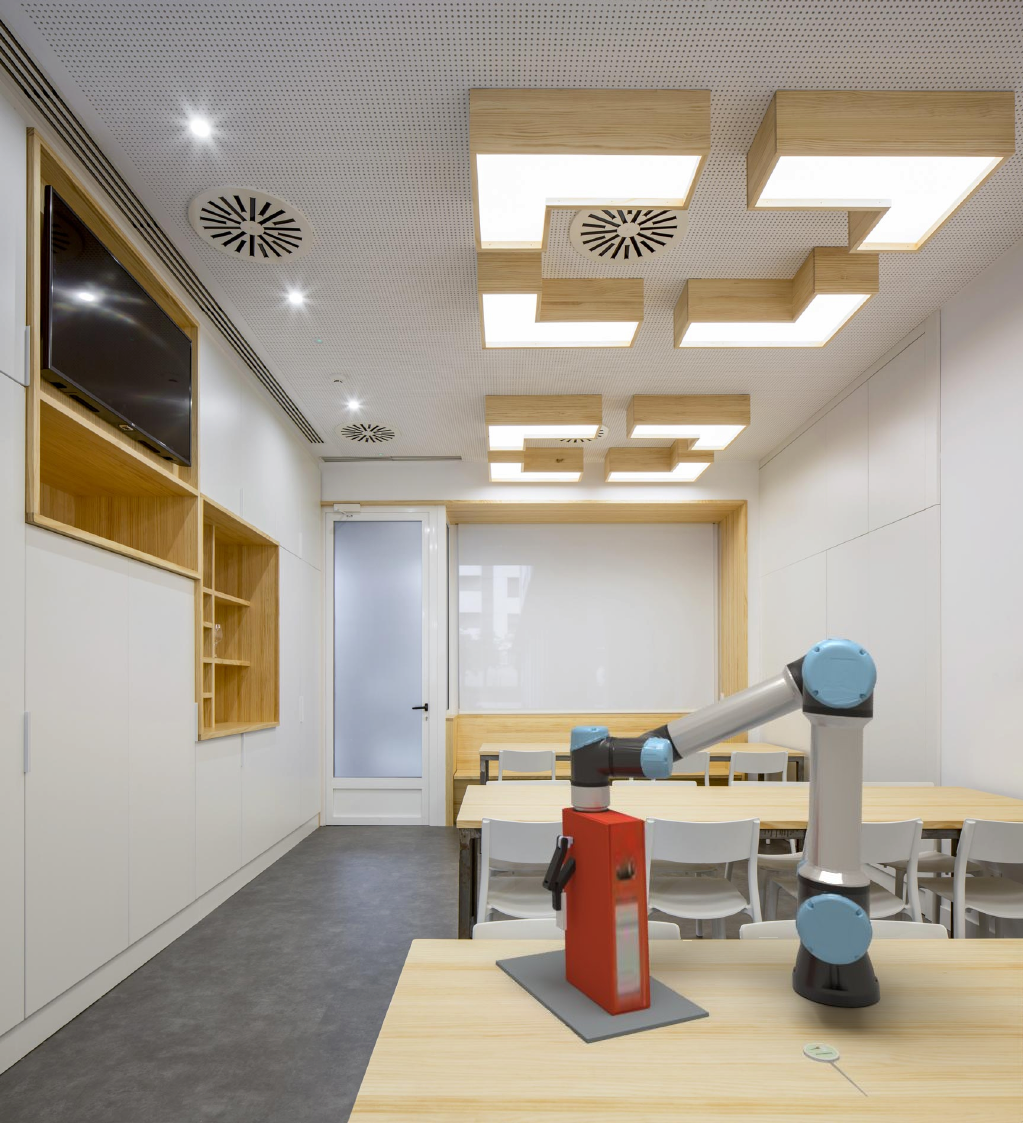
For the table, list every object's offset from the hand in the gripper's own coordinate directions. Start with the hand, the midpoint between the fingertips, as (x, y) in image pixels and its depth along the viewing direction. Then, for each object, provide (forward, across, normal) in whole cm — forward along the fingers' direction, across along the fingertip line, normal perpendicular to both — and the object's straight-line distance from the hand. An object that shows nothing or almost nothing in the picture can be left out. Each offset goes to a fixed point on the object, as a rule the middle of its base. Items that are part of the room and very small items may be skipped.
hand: (592, 923), depth 154 cm
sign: (+12, -18, +42) cm, 47 cm away
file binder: (+11, 0, +5) cm, 12 cm away
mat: (+12, 0, 0) cm, 12 cm away
